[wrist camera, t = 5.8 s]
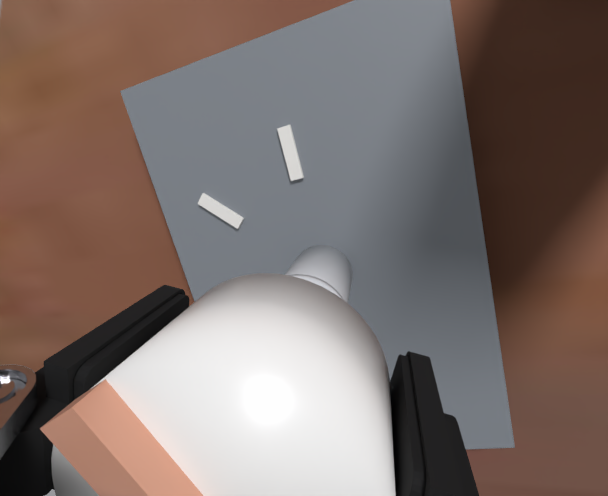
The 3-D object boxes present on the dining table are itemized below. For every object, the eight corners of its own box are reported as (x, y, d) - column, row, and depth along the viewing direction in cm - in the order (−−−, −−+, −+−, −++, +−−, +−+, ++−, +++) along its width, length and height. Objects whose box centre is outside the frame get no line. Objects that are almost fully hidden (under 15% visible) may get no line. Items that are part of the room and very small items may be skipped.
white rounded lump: (436, 419, 9) (493, 686, 4) (260, 489, 11) (179, 723, 6) (298, 227, 8) (205, 318, 4) (138, 339, 10) (-45, 484, 6)
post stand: (501, 418, 19) (617, 672, 10) (260, 432, 23) (180, 624, 14) (436, -12, 15) (542, -303, 5) (146, 97, 19) (-93, 42, 9)
